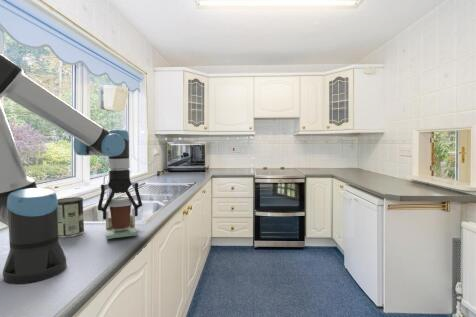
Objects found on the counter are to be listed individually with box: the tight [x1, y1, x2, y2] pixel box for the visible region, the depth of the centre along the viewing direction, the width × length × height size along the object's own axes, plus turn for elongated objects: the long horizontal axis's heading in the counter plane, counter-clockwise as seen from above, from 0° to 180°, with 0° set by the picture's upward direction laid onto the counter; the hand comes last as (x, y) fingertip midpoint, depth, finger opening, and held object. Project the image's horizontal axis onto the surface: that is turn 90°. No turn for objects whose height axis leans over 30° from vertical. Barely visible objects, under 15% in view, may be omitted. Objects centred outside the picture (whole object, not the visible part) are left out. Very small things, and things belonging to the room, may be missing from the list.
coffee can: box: [57, 196, 85, 239], centre depth 122 cm, size 10×10×14 cm
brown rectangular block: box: [105, 214, 136, 231], centre depth 126 cm, size 2×11×6 cm, turn 114°
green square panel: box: [105, 225, 138, 240], centre depth 119 cm, size 1×11×12 cm
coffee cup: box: [108, 196, 133, 231], centre depth 119 cm, size 9×9×12 cm
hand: (121, 225), depth 119 cm, fingers closed on coffee cup, 9 cm apart
